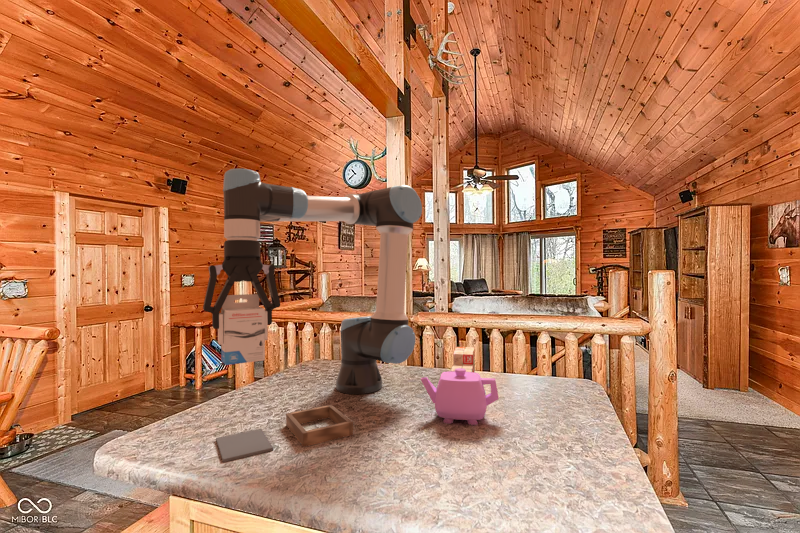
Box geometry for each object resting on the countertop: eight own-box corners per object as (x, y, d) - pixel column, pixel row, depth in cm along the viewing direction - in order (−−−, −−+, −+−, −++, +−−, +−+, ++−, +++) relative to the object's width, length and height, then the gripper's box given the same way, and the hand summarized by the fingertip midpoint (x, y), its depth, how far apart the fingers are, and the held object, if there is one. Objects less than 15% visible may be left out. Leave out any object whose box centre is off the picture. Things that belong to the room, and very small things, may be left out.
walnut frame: (331, 415, 105) (331, 404, 105) (353, 434, 93) (353, 422, 93) (286, 425, 99) (286, 413, 99) (303, 447, 87) (303, 433, 87)
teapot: (497, 411, 108) (496, 364, 108) (500, 429, 96) (500, 377, 96) (424, 407, 111) (423, 362, 111) (418, 424, 99) (418, 374, 99)
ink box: (224, 366, 84) (224, 296, 84) (220, 361, 88) (220, 295, 88) (266, 360, 89) (265, 294, 89) (260, 356, 93) (259, 293, 93)
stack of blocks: (472, 404, 114) (471, 361, 114) (450, 402, 115) (449, 360, 115) (475, 382, 135) (474, 346, 135) (456, 381, 136) (456, 345, 136)
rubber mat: (261, 430, 96) (261, 428, 96) (273, 450, 86) (273, 447, 86) (216, 440, 91) (216, 437, 91) (223, 462, 81) (223, 459, 81)
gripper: (285, 242, 97) (286, 334, 97) (187, 239, 86) (188, 343, 86) (294, 240, 91) (295, 339, 91) (189, 237, 80) (190, 349, 80)
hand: (243, 341), depth 89 cm, fingers closed on ink box, 8 cm apart
